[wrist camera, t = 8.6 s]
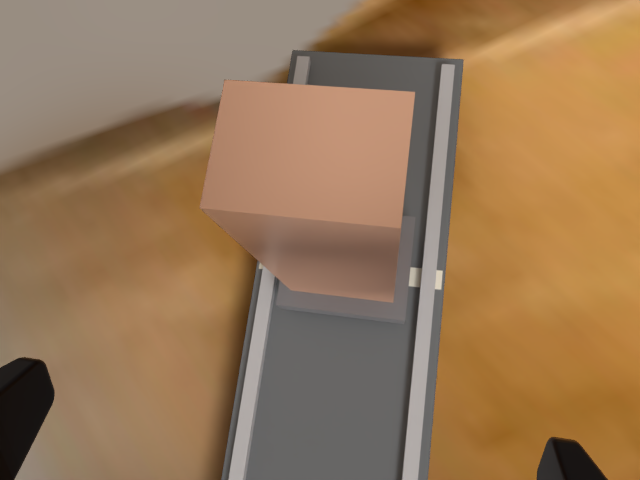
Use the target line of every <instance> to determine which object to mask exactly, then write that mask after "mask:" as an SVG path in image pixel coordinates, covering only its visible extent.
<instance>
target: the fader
mask: <svg viewBox="0 0 640 480" xmlns="http://www.w3.org/2000/svg"><path fill="white" fill-rule="evenodd" d="M414 99H415V92H409V91H394V90H378V89H362V88H347V87H331V86H316V85H300V84H284V83H269V82H253V81H237V80H224V85H223V90H222V96H221V101H220V106H219V111H218V116H217V121H216V126H215V131H214V137H213V142H212V147H211V152H210V157H209V162H208V167H207V172H206V178H205V183H204V188H203V193H202V198H201V203H200V209H201V210H202V211H203V212H205V213H206V214H207V215H208V216H209V217H210V218H211V219H212V220H213V221H214V222H216V223H217V224H218V225H219V226H220V227H221V228H222V229H223V230H224V231H226V232H227V233H228V234H229V235H230V236H231V237H232V238H233V239H234V240H236V241H237V242H238V243H239V244H240V245H241V246H242V247H243V248H244V249H246V250H247V251H248V252H249V253H250V254H251V255H252V256H253V257H254V258H256V259H257V260H258V261H259V262H260V263H261V264H262V265H263V266H264V267H266V268H267V269H268V270H269V271H270V272H271V273H272V274H273V275H274V276H276V277H277V278H278V279H279V280H280V281H279V288H278V294H277V301H276V305H277V306H279V307H280V308H282V309H287V310H295V311H303V312H311V313H319V314H327V315H335V316H343V317H351V318H359V319H366V320H374V321H382V322H390V323H398V324H404V323H405V317H406V307H407V297H408V287H409V277H410V267H411V257H412V247H413V238H414V228H415V218H416V217H411V216H402V215H403V205H404V196H405V186H406V176H407V167H408V157H409V147H410V138H411V128H412V118H413V109H414Z"/></svg>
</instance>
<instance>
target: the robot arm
mask: <svg viewBox="0 0 640 480" xmlns="http://www.w3.org/2000/svg"><path fill="white" fill-rule="evenodd" d="M53 400H54V388H53V385H52V382H51V379H50V376H49V373H48V370H47V367H46V364H45V363H44V362H43V361H42V360H39V359H33V358H26V357H22V358H18V359H16V360H14V361H12V362H10V363H8V364H6V365H4V366H3V367H1V368H0V480H14V479H15V477H16V475H17V473H18V471H19V469H20V468H21V466H22V464H23V462H24V460H25V458H26V456H27V454H28V452H29V450H30V448H31V446H32V444H33V442H34V440H35V438H36V436H37V434H38V432H39V430H40V428H41V426H42V424H43V422H44V420H45V418H46V416H47V414H48V412H49V410H50V408H51V406H52V403H53ZM537 480H608V479H607V478H606V477H605V475H604V474H603V473H602V472H601V470H600V469H599V468H598V466H597V465H596V464H595V463H594V461H593V460H592V459H591V458H590V456H589V455H588V454H587V452H586V451H585V450H584V449H583V447H582V446H581V445H580V444H579V443H578V442H577V441H575V440H571V439H564V438H558V437H551V438H550V439H549V440H548V441H547V444H546V447H545V449H544V452H543V455H542V458H541V461H540V464H539V467H538V471H537Z"/></svg>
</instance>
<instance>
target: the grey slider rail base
mask: <svg viewBox="0 0 640 480" xmlns="http://www.w3.org/2000/svg"><path fill="white" fill-rule="evenodd" d="M463 61H464V60H462V59H444V58H425V57H407V56H389V55H370V54H352V53H334V52H315V51H297V50H293V51H292V57H291V63H290V69H289V75H288V81H287V84H300V85H316V86H331V87H347V88H362V89H378V90H394V91H409V92H415V99H414V109H413V118H412V128H411V138H410V147H409V157H408V167H407V176H406V186H405V196H404V205H403V215H402V216H411V217H416V218H415V228H414V238H413V247H412V257H411V267H410V277H409V287H408V297H407V307H406V317H405V323H404V324H398V323H390V322H382V321H374V320H366V319H359V318H351V317H343V316H335V315H327V314H319V313H311V312H303V311H295V310H287V309H282V308H280V307H279V306H277V305H276V301H277V294H278V288H279V281H280V280H279V279H278V278H277V277H276V276H274V275H273V274H272V273H271V272H270V271H269V270H268V269H267V268H266V267H264V266H263V265H262V264H261V263H260V262H259V261H258V262H257V268H256V274H255V280H254V286H253V292H252V298H251V304H250V310H249V316H248V322H247V328H246V334H245V340H244V346H243V352H242V358H241V364H240V370H239V376H238V382H237V388H236V394H235V400H234V406H233V412H232V418H231V424H230V430H229V436H228V442H227V448H226V454H225V460H224V466H223V472H222V478H221V480H428V470H429V459H430V447H431V435H432V423H433V412H434V400H435V388H436V377H437V365H438V353H439V342H440V330H441V318H442V306H443V295H444V283H445V271H446V260H447V248H448V236H449V224H450V213H451V201H452V189H453V178H454V166H455V154H456V143H457V131H458V119H459V107H460V96H461V84H462V72H463Z"/></svg>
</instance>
